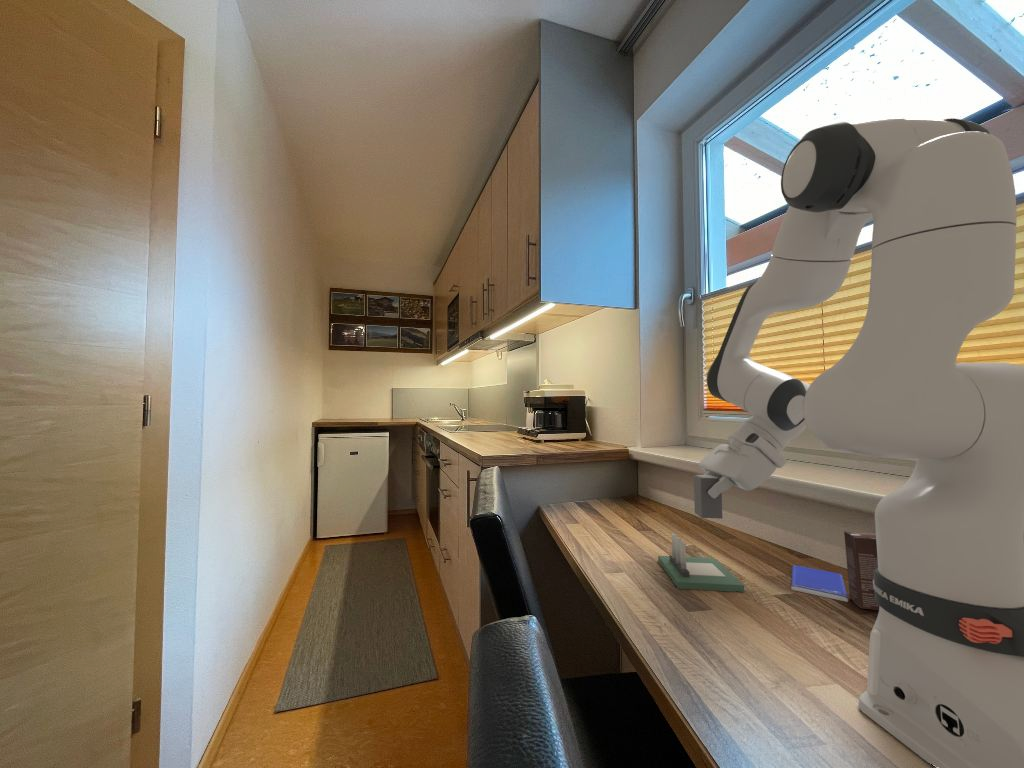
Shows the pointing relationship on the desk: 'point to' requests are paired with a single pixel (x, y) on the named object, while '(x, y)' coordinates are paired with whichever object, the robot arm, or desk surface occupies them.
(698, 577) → the header board
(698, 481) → the plug
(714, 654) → the desk surface
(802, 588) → the hard drive
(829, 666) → the desk surface
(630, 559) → the desk surface
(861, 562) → the box
